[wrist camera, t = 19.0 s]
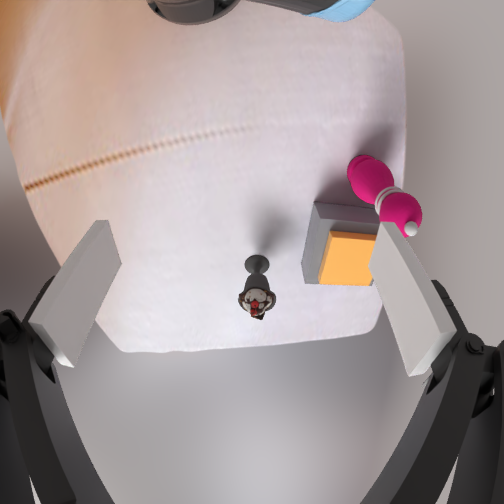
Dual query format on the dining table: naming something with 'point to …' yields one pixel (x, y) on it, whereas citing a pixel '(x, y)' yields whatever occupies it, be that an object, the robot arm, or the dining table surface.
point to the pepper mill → (384, 194)
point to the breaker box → (333, 220)
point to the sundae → (257, 289)
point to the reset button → (347, 259)
